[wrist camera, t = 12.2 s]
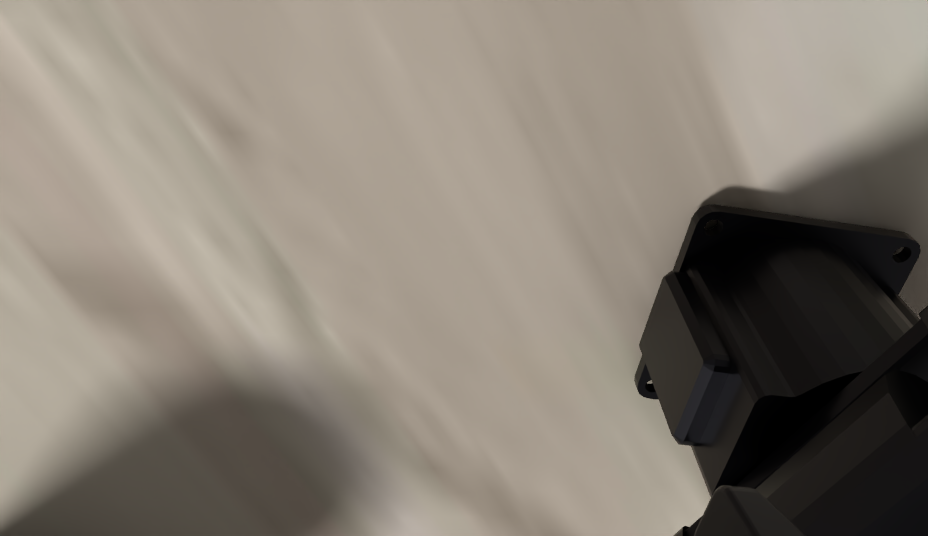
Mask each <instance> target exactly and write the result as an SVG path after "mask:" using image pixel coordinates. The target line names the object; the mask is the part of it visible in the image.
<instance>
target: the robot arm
mask: <svg viewBox="0 0 928 536" xmlns="http://www.w3.org/2000/svg"><path fill="white" fill-rule="evenodd" d="M716 219H717V220H719V221H718V223H717V225H716V226H715V227H713V228H711V229H705V228H704V227H705V225H706V224H707V222H709V221H711V220H716ZM901 247H904V249H903V250H902V251H901V252H900V253H898V254H896V255H893V253H894V252H895V251H896V250H897V249H899V248H901ZM919 254H920V245H919V244H918V243H917V242H916V241H915V240H914V239H913V238H912V237H911V236H910V235H909V234H907V233H904V232H899V231H892V230H886V229H879V228H872V227H865V226H858V225H851V224H845V223H838V222H831V221H824V220H817V219H810V218H803V217H797V216H790V215H783V214H776V213H769V212H762V211H756V210H749V209H742V208H735V207H728V206H721V205H707V206H704V207H702V208H700V209H699V210H698V211H697V212H695V214H694V216H693V217H692V219H691V222H690V225H689V228H688V230H687V233H686V236H685V239H684V242H683V244H682V247H681V250H680V253H679V255H678V258H677V261H676V264H675V266H674V269H673V271H671V272H669V273H668V274H667V275H666V276H664V277H663V279H662V282H661V285H660V288H659V290H658V293H657V296H656V299H655V302H654V304H653V307H652V310H651V313H650V316H649V318H648V321H647V324H646V327H645V330H644V332H643V335H642V338H641V341H640V344H639V346H640V350H641V352H642V358H641V360H640V363H639V366H638V369H637V371H636V374H635V380H634V381H635V384H636V387H637V389H638V392H639V394H641V395H642V396H643V397H646V398H650V399H659V401H660V404H661V407H662V410H663V412H664V415H665V418H666V420H667V423H668V426H669V429H670V431H671V434H672V436H673V437H674V439H675V440H676V441H677V443H678V444H679V445H689V446H691V447H692V450H693V452H694V455H695V458H696V460H697V463H698V465H699V468H700V470H701V473H702V476H703V478H704V481H705V483H706V486H707V488H708V491H709V494H710V496H711V499H710V501H709V504H708V506H707V508H706V510H705V512H704V514H703V516H702V517H700V518H699V519H698V520H697V521H696V522H695V523H694V524H693V525H692V526H690V527H687V526H684V527H683V528H682V529H680V530H679V531H678V532H677V533H676V534H675V535H674V536H928V306H927V307H926V308H925V309H924V310H923V311H921V312H920V313H919V316H920V317H921V319H919V318H918V317H917V316H916V315H915V314H914V313H913V311H912V310H911V309H910V308H909V307H908V306H907V305H906V304H905V302H904V301H903V300H902V299H901V298H900V297H899V296H898V294H899V292H900V291H901V289H902V287H903V285H904V283H905V281H906V279H907V278H908V276H909V274H910V272H911V270H912V268H913V267H914V265H915V263H916V261H917V259H918V257H919ZM650 380H652V382H653V383H652V384H647V382H648V381H650Z"/></svg>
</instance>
